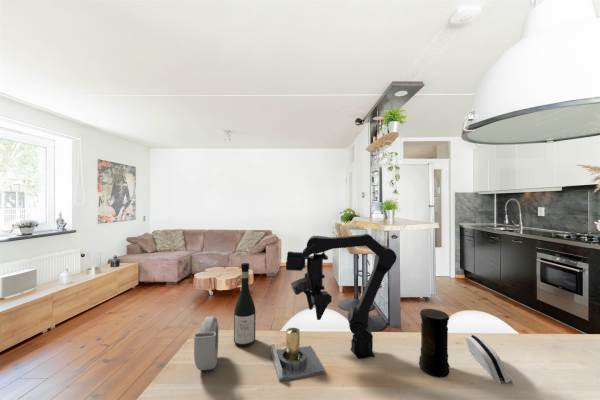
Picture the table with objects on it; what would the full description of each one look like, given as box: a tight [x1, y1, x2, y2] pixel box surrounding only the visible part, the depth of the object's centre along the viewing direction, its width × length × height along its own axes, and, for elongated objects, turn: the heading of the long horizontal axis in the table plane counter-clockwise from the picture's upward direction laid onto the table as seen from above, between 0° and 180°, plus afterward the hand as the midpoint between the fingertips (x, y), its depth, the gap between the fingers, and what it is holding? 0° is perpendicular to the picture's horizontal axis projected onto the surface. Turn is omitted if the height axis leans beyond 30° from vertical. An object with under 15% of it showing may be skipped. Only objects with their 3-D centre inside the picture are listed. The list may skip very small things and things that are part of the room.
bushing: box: [285, 327, 301, 361], centre depth 91 cm, size 4×4×10 cm
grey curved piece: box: [464, 333, 515, 386], centre depth 89 cm, size 17×5×10 cm, turn 172°
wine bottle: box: [233, 262, 256, 348], centre depth 104 cm, size 8×8×30 cm
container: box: [418, 308, 450, 379], centre depth 88 cm, size 9×9×18 cm
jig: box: [270, 343, 326, 382], centre depth 91 cm, size 14×15×3 cm
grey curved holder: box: [192, 315, 219, 371], centre depth 89 cm, size 17×6×15 cm, turn 9°
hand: (314, 314), depth 99 cm, fingers open, 9 cm apart
